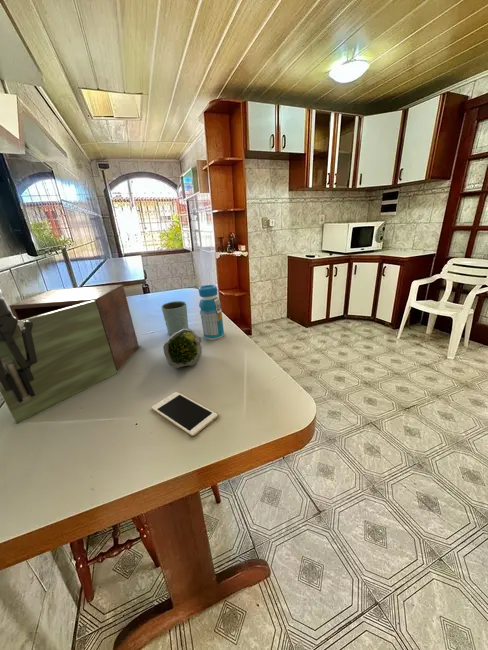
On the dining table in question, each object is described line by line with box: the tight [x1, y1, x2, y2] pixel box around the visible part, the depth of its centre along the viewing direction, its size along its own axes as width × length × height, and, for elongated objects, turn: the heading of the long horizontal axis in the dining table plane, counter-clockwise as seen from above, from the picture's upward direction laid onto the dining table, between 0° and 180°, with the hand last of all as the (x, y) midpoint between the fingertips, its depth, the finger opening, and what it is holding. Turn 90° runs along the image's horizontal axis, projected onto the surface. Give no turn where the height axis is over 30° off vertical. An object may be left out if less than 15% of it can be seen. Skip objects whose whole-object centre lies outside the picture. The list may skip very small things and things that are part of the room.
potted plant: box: [162, 328, 203, 369], centre depth 85 cm, size 12×13×15 cm
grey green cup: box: [161, 300, 189, 336], centre depth 111 cm, size 10×10×12 cm
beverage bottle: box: [198, 284, 225, 341], centre depth 103 cm, size 8×8×20 cm
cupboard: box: [8, 284, 139, 372], centre depth 91 cm, size 18×26×24 cm
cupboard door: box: [0, 300, 118, 424], centre depth 70 cm, size 7×26×24 cm, turn 143°
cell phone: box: [151, 391, 218, 437], centre depth 65 cm, size 8×16×1 cm, turn 50°
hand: (25, 396), depth 62 cm, fingers closed on cupboard door, 2 cm apart
